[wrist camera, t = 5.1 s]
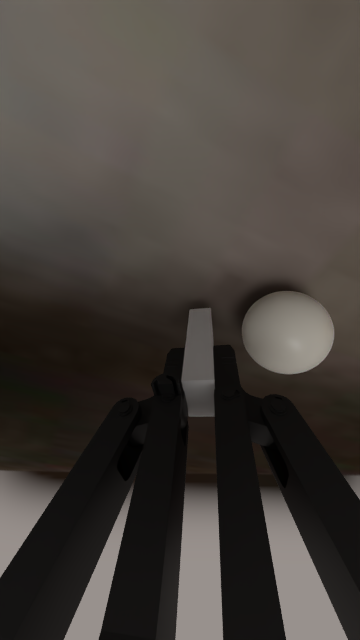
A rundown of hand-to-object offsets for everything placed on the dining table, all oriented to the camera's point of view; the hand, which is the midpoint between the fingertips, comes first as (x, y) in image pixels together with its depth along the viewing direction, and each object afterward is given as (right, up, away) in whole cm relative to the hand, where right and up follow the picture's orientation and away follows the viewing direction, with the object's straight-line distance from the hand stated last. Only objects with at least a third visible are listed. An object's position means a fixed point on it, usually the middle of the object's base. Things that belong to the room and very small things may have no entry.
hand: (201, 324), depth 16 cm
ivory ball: (+5, 0, -1) cm, 6 cm away
